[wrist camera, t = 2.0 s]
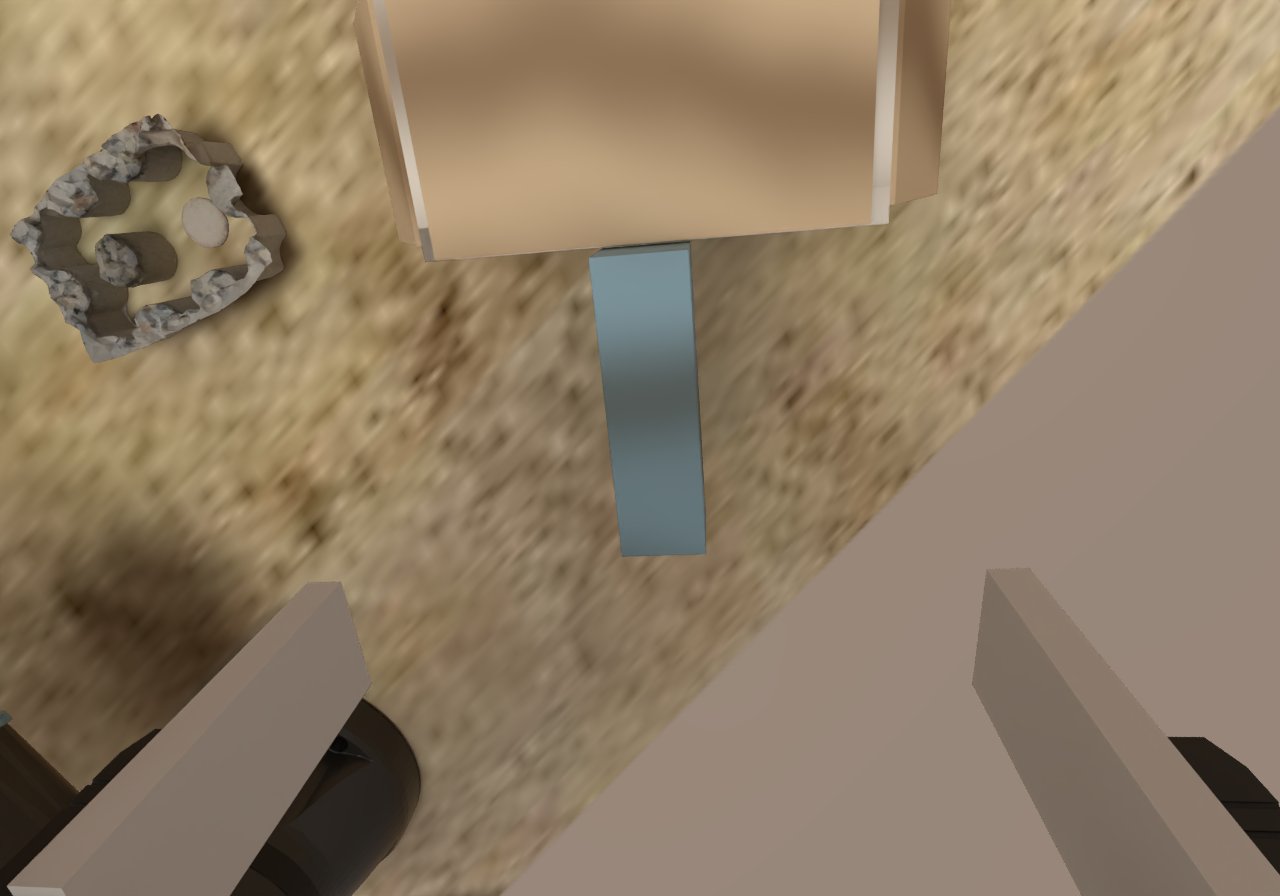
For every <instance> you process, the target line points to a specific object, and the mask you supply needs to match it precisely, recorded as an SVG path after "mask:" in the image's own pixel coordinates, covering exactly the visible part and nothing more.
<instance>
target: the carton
mask: <svg viewBox="0 0 1280 896" xmlns="http://www.w3.org/2000/svg"><path fill="white" fill-rule="evenodd" d="M950 11H951V0H880V7H879V32H878V57H877V83H876V108H875V133H874V158H873V184H872V209H871V224H863V225H851V226H839V227H827V228H815V229H803V230H791V231H779V232H767V233H755V234H743V235H731V236H719V237H708V238H696V239H684V240H672V241H660V242H648V243H636V244H624V245H612V246H600V247H588V248H576V249H564V250H552V251H540V252H528V253H516V254H504V255H492V256H480V257H468V258H456V259H444V260H435V258H434V253H433V248H432V243H431V238H430V233H429V227H428V222H427V217H426V212H425V207H424V202H423V197H422V191H421V186H420V181H419V176H418V171H417V166H416V161H415V155H414V150H413V145H412V140H411V135H410V130H409V125H408V120H407V114H406V109H405V104H404V99H403V94H402V89H401V84H400V78H399V73H398V68H397V63H396V58H395V53H394V48H393V42H392V37H391V32H390V27H389V22H388V17H387V12H386V6H385V1H384V0H358V2H357V8H356V13H355V19H354V28H355V33H356V37H357V42H358V47H359V52H360V56H361V61H362V66H363V71H364V75H365V80H366V85H367V89H368V94H369V99H370V104H371V108H372V113H373V118H374V123H375V127H376V132H377V137H378V141H379V146H380V151H381V156H382V160H383V165H384V170H385V175H386V179H387V184H388V189H389V193H390V198H391V203H392V208H393V212H394V217H395V222H396V227H397V231H398V236H399V241H401V242H405V243H408V244H411V245H415V246H422V250H423V255H424V260H425V262H433V261H445V260H457V259H469V258H481V257H493V256H505V255H517V254H529V253H541V252H553V251H565V250H577V249H589V248H601V247H613V246H625V245H637V244H649V243H661V242H673V241H685V240H697V239H709V238H721V237H733V236H745V235H757V234H769V233H781V232H793V231H805V230H817V229H829V228H841V227H853V226H865V225H877V224H889V205H896V204H900V203H904V202H908V201H911V200H915V199H919V198H923V197H927V196H931V195H935V194H937V188H938V174H939V161H940V147H941V134H942V120H943V106H944V93H945V79H946V66H947V52H948V38H949V25H950Z"/></svg>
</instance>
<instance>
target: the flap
mask: <svg viewBox="0 0 1280 896" xmlns="http://www.w3.org/2000/svg"><path fill="white" fill-rule="evenodd" d="M384 1H385V6H386V12H387V17H388V22H389V27H390V32H391V37H392V42H393V48H394V53H395V58H396V63H397V68H398V73H399V78H400V84H401V89H402V94H403V99H404V104H405V109H406V114H407V120H408V125H409V130H410V135H411V140H412V145H413V150H414V155H415V161H416V166H417V171H418V176H419V181H420V186H421V191H422V197H423V202H424V207H425V212H426V217H427V222H428V227H429V233H430V238H431V243H432V248H433V253H434V258H435V260H444V259H456V258H468V257H480V256H492V255H504V254H516V253H528V252H540V251H552V250H564V249H576V248H588V247H600V246H612V245H624V244H636V243H648V242H660V241H672V240H684V239H696V238H708V237H719V236H731V235H743V234H755V233H767V232H779V231H791V230H803V229H815V228H827V227H839V226H851V225H863V224H871V209H872V184H873V158H874V133H875V108H876V83H877V57H878V32H879V7H880V0H384ZM589 265H590V274H591V283H592V292H593V301H594V310H595V319H596V328H597V337H598V346H599V355H600V364H601V373H602V382H603V391H604V400H605V409H606V418H607V427H608V436H609V445H610V454H611V463H612V472H613V481H614V489H615V498H616V507H617V516H618V525H619V534H620V543H621V552H622V557H627V556H662V555H697V554H706V510H705V492H704V474H703V457H702V439H701V421H700V403H699V386H698V368H697V350H696V332H695V315H694V297H693V279H692V261H691V244H690V241H686V242H674V243H662V244H650V245H638V246H626V247H614V248H603V249H601V250H600V251H598V252H597V253H595V254H594V255H592V256H591V257H589Z"/></svg>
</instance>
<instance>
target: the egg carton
mask: <svg viewBox="0 0 1280 896" xmlns="http://www.w3.org/2000/svg"><path fill="white" fill-rule="evenodd" d="M102 147H103V148H104V149H103V150H101V151H99V152H97V153H95V154H93V155H91V156H89V157H87V158H85V159H84V160H83V162H84V163H82V164H81V165H79V166H77V167H76V168H74V169H73V170H72V171H70V172H69V173H67V174H65V175H63V176H61V177H60V178H58V179H56V180H55V181H54V183H53V184H52V185H51V187H50V188H49V189H48V190H47V191H46V193H45V194H44V196H43V198H42V201H41V202H39V203H38V204H37V205H36V206H35V208H34V211H35V213H34V214H33V215H32V216H30V217H28V218H24V219H22V220H20V221H18V222H17V223H16V224H15V225H14V229H13V230H12V232H11V234H10V235H11V236H12V238H13V239H14V240H15V241H16V242H18V243H21V244H24V245H25V246H26V247H27V248H28V249H29V251H30V252H31V254H32V255H33V257H34V260H35V265H34V266H32V267H31V268H30V269H31V271H32V273H33V274H35V275H36V276H38V277H39V278H41V279H42V280H44V282H45V283H46V284H47V285H48V288H49V294H50V295H51V298H52V299H53V300H54V301H55V302H56V303H57V304H58V305H59V307H60V309H61V311H62V314H63V316H64V318H65V322H66V323H68V324H70V325H72V326H74V327H75V328H77V329H78V330H80V333H81V336H82V340H83V343H84V345H85V348H86V350H87V352H88V354H89V356H90V358H91V360H92V362H94V363H99V362H103V361H106V360H110V359H113V358H117V357H120V356H123V355H126V354H128V353H131V352H134V351H136V350H139V349H142V348H144V347H146V346H149V345H151V344H153V342H157V341H160V340H163V339H167V338H170V337H172V336H174V335H175V334H177V333H179V332H180V331H181V329H183V328H185V327H186V326H188V325H190V324H192V323H194V322H196V321H198V320H200V319H203V318H205V317H207V316H209V315H211V314H214V313H216V312H218V311H221V310H222V309H223V308H225V307H226V306H228V305H229V304H231V303H232V302H233V301H235V300H236V299H238V298H239V297H240V296H242V295H243V294H245V293H246V292H247V291H248V290H249V289H250V288H251V287H252V285H253V284H254V283H255V281H258V280H262V279H266V278H271V277H273V276H275V275H277V274H278V273H280V272H281V271H283V270H284V265H283V263H282V261H281V257H280V246H281V243H282V241H283V239H284V238H285V236H286V231H285V229H284V227H283V225H282V224H281V222H280V220H279V218H278V216H277V215H275V214H268V215H259V214H256V213H254V212H252V211H251V210H250V209H248V208H247V207H246V206H245V205H244V204H243V203H242V201H241V200H240V197H241V196H242V195H243V194H242V192H241V189H240V187H239V185H238V184H237V182H236V180H235V178H236V174H237V172H238V171H239V169H240V168H241V166H242V165H243V164H242V162H241V160H240V158H239V156H238V155H237V153H236V152H235V150H234V148H233V147H232V145H231V144H229V143H220V142H209V141H204V140H203V139H201V138H200V137H199V136H198V135H197V134H195V133H190V132H186V131H182V130H177V129H173V128H172V126H171V125H170V124H169V123H168V122H167V120H166V119H165V118H164V117H163V116H162V115H160V114H157V115H155V116H154V117H153V118H151V117H150V116H146V117H143V118H142V120H140V121H139V122H135V123H131V124H130V125H128V126H127V127H125V128H124V129H123V130H122V131H121V132H119V133H116V134H114V135H112V137H111V138H109V139H108V140H107V141H106V142H105V143H104V144H103V145H102ZM180 149H182V150H183V151H184V152H185V153H186V155H187V156H188V157H189V158H190V159H192V160H194V161H196V162H198V163H201V164H203V165H208V166H212V167H211V168H210V169H209V171H208V174H207V177H206V183H207V188H208V192H209V196H210V198H211V201H210V200H209V199H204V198H200V197H198V198H195V199H191V200H190V201H189V202H188V203H186V205H185V206H184V208H183V212H182V222H183V226H184V229H185V231H186V233H187V235H188V236H189V237H190V238H191V239H192V240H193V241H194V242H195V243H197V244H199V245H200V246H203V247H207V248H212V247H218V246H221V245H222V244H223V243H224V242H225V241H226V239H227V237H228V232H229V224H228V220H227V217H226V215H228V216H231V217H235V218H240V217H246V218H248V219H249V220H250V221H251V223H252V225H253V227H254V228H255V233H256V235H255V236H253V237H250V241H249V243H248V245H247V246H246V248H245V252H244V254H245V256H246V258H247V265H239V266H233V267H226V268H220V269H214V270H211V271H208V272H207V273H205V274H204V275H203V276H201V277H200V278H197V279H195V280H191V290H192V295H191V296H189V297H185V298H181V299H176V300H171V301H166V302H161V303H156V304H150V305H145V306H144V307H143V308H141V309H140V311H139V312H138V313H137V314H136V315H135V318H134V320H135V322H136V325H137V326H136V325H135V324H134V323H133V322H132V320H131V319H130V317H129V316H128V314H127V313H126V311H127V307H126V304H127V300H128V287H136V286H139V285H144V284H150V283H155V282H159V281H164V280H167V279H170V278H171V277H173V275H174V273H175V272H176V268H177V255H176V253H175V251H174V248H173V247H172V245H171V244H170V243H169V242H168V241H167V240H166V239H165V238H164V237H163V236H161V235H159V234H157V233H154V232H134V233H121V234H106V235H104V237H103V238H102V239H100V240H99V241H98V242H97V243H96V246H95V251H96V260H97V262H98V264H92V265H89V264H88V263H87V262H86V261H85V259H84V258H83V257H82V255H81V254H80V253H79V251H78V250H77V248H76V245H77V243H78V241H79V239H80V237H81V232H82V230H81V224H80V222H79V219H78V218H86V217H101V216H114V215H118V214H122V213H123V212H124V211H125V210H126V209H127V208H128V206H129V203H130V199H131V198H130V191H129V187H128V184H127V182H129V181H147V182H153V181H169V180H171V179H173V178H175V177H176V176H177V175H178V173H179V171H180V170H181V166H182V156H181V150H180ZM224 213H225V214H226V215H225V214H224Z"/></svg>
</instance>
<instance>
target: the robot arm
mask: <svg viewBox="0 0 1280 896" xmlns="http://www.w3.org/2000/svg"><path fill="white" fill-rule="evenodd" d="M371 684H372V683H371V680H370V677H369V673H368V670H367V667H366V663H365V660H364V657H363V653H362V650H361V647H360V643H359V640H358V637H357V633H356V630H355V627H354V623H353V620H352V617H351V613H350V610H349V607H348V603H347V600H346V597H345V593H344V590H343V587H342V583H341V582H311V583H307V584H306V585H305V586H304V587H303V588H302V589H301V590H300V591H299V592H298V593H297V594H296V595H295V596H294V597H293V598H292V599H291V600H290V601H289V602H288V603H287V604H286V605H285V606H284V607H283V608H282V609H281V610H280V611H279V612H278V613H277V614H276V615H275V616H274V617H273V618H272V619H271V620H270V621H269V622H268V623H267V624H266V625H265V626H264V627H263V628H262V629H261V630H260V631H259V632H258V633H257V634H256V635H255V636H254V637H253V638H252V639H251V640H250V641H249V642H248V643H247V644H246V645H245V646H244V647H243V648H242V649H241V650H240V651H239V653H238V654H237V655H236V656H235V657H234V658H233V659H232V660H231V661H230V662H229V663H228V664H227V665H226V666H225V667H224V668H223V669H222V670H221V671H220V672H219V673H218V674H217V675H216V676H215V677H214V678H213V679H212V680H211V681H210V682H209V683H208V684H207V685H206V686H205V687H204V688H203V689H202V690H201V691H200V692H199V693H198V694H197V695H196V696H195V697H194V698H193V699H192V700H191V701H190V702H189V703H188V704H187V705H186V706H185V707H184V708H183V709H182V710H181V711H180V712H179V713H178V714H177V715H176V716H175V717H174V718H173V719H172V720H171V721H170V722H169V723H168V724H167V725H166V726H165V727H164V728H163V729H155V730H153V731H152V732H150V733H149V734H147V735H146V736H144V737H143V738H141V739H140V740H138V741H137V742H135V743H134V744H132V745H131V746H129V747H128V748H126V749H125V750H124V751H122V752H121V753H120V754H119V755H117V756H116V757H115V758H114V759H113V760H112V761H111V762H110V763H109V764H108V765H107V766H106V767H105V768H104V769H103V770H102V771H101V772H100V773H99V774H98V775H97V776H96V777H95V778H94V779H93V783H92V784H91V785H87V786H86V787H85V788H84V789H83V790H82V791H81V792H80V793H79V792H78V791H77V790H76V789H75V788H74V787H73V786H72V785H71V784H70V783H69V782H68V781H67V780H66V779H65V778H64V777H63V776H62V775H61V774H60V773H59V772H58V771H57V770H56V769H55V768H54V767H52V766H51V765H50V764H49V763H48V762H47V761H46V760H45V759H44V758H43V757H42V756H41V755H40V754H39V753H38V752H37V751H36V750H35V749H34V748H33V747H32V746H31V745H30V744H29V743H28V742H27V741H26V740H24V739H23V738H22V737H21V736H20V735H19V734H18V733H17V732H16V731H15V730H14V729H13V728H12V727H11V726H10V725H9V724H8V723H9V722H10V721H11V720H12V717H11V716H10V715H9V714H8V713H7V712H6V711H2V710H0V896H352V895H353V893H354V892H355V891H356V890H357V889H358V888H359V887H360V885H361V884H362V883H363V882H364V881H365V880H366V878H367V877H368V876H369V875H370V874H371V872H372V871H373V870H374V869H375V868H376V866H377V865H378V864H379V863H380V862H381V861H382V860H383V859H384V858H386V857H387V856H388V855H389V854H390V853H391V852H392V851H393V849H394V848H395V847H396V845H397V844H398V842H399V841H400V839H401V837H402V835H403V834H404V831H405V829H406V827H407V825H408V823H409V821H410V818H411V816H412V814H413V812H414V810H415V807H416V805H417V802H418V798H419V790H420V782H419V774H418V769H417V766H416V763H415V760H414V758H413V755H412V753H411V751H410V750H409V748H408V746H407V744H406V743H405V741H404V740H403V738H402V737H401V736H400V734H399V733H398V732H397V731H396V730H395V728H394V727H393V726H392V725H391V724H390V723H389V722H388V721H387V720H386V719H385V718H384V717H383V716H381V715H380V714H379V713H378V712H377V711H375V710H374V709H373V708H371V707H370V706H369V705H367V704H366V703H364V702H363V701H361V699H362V697H363V696H364V694H365V693H366V691H367V690H368V688H369V687H370V685H371ZM972 684H973V686H974V688H975V690H976V692H977V694H978V696H979V698H980V700H981V702H982V704H983V706H984V708H985V710H986V712H987V713H988V715H989V717H990V719H991V721H992V723H993V725H994V727H995V728H996V731H997V733H998V735H999V737H1000V739H1001V741H1002V743H1003V745H1004V746H1005V748H1006V750H1007V752H1008V754H1009V756H1010V758H1011V760H1012V762H1013V764H1014V766H1015V768H1016V770H1017V771H1018V773H1019V775H1020V777H1021V779H1022V781H1023V783H1024V785H1025V787H1026V789H1027V791H1028V793H1029V795H1030V797H1031V799H1032V801H1033V803H1034V804H1035V806H1036V808H1037V810H1038V812H1039V814H1040V816H1041V818H1042V820H1043V822H1044V824H1045V826H1046V828H1047V830H1048V832H1049V834H1050V835H1051V837H1052V839H1053V841H1054V843H1055V845H1056V847H1057V849H1058V851H1059V853H1060V855H1061V857H1062V859H1063V861H1064V863H1065V865H1066V867H1067V869H1068V870H1069V872H1070V874H1071V876H1072V878H1073V880H1074V882H1075V884H1076V886H1077V888H1078V890H1079V891H1080V894H1081V896H1280V807H1279V805H1278V803H1279V802H1278V801H1277V800H1276V799H1275V798H1274V797H1273V796H1272V794H1271V793H1270V792H1269V791H1268V790H1267V789H1266V788H1265V787H1264V786H1263V784H1262V783H1261V782H1260V781H1259V780H1258V779H1257V778H1256V777H1255V776H1254V775H1253V773H1251V771H1250V770H1249V769H1248V768H1247V767H1246V766H1244V765H1243V764H1242V763H1240V762H1239V761H1237V760H1236V759H1234V758H1233V757H1232V756H1230V755H1229V754H1227V753H1226V752H1224V751H1223V750H1222V749H1220V748H1219V747H1217V746H1216V745H1214V744H1213V743H1212V742H1210V741H1208V740H1207V739H1206V738H1204V737H1167V736H1166V735H1165V734H1164V733H1163V731H1162V730H1161V729H1160V728H1159V726H1158V725H1157V724H1156V723H1155V722H1154V720H1153V719H1152V718H1151V717H1150V715H1149V714H1148V713H1147V712H1146V710H1145V709H1144V708H1143V707H1142V706H1141V704H1140V703H1139V702H1138V701H1137V700H1136V698H1135V697H1134V696H1133V695H1132V693H1131V692H1130V691H1129V690H1128V688H1127V687H1126V686H1125V685H1124V684H1123V682H1122V681H1121V680H1120V679H1119V677H1118V676H1117V675H1116V674H1115V672H1114V671H1113V670H1112V669H1111V668H1110V666H1109V665H1108V664H1107V663H1106V661H1105V660H1104V659H1103V658H1102V657H1101V655H1100V654H1099V653H1098V652H1097V650H1096V649H1095V648H1094V647H1093V645H1092V644H1091V643H1090V642H1089V641H1088V639H1087V638H1086V637H1085V636H1084V634H1083V633H1082V632H1081V631H1080V630H1079V628H1078V627H1077V626H1076V625H1075V624H1074V622H1073V621H1072V620H1071V618H1070V617H1069V616H1068V615H1067V614H1066V612H1065V611H1064V610H1063V609H1062V608H1061V606H1060V605H1059V604H1058V603H1057V601H1056V600H1055V599H1054V598H1053V596H1052V595H1051V594H1050V593H1049V592H1048V590H1047V589H1046V588H1045V587H1044V585H1043V584H1042V583H1041V582H1040V581H1039V579H1038V578H1037V577H1036V576H1035V574H1034V573H1033V572H1032V571H1031V569H1030V568H1016V569H1015V568H1012V569H987V570H986V578H985V586H984V594H983V602H982V610H981V618H980V626H979V634H978V643H977V651H976V658H975V667H974V674H973V682H972Z"/></svg>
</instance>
